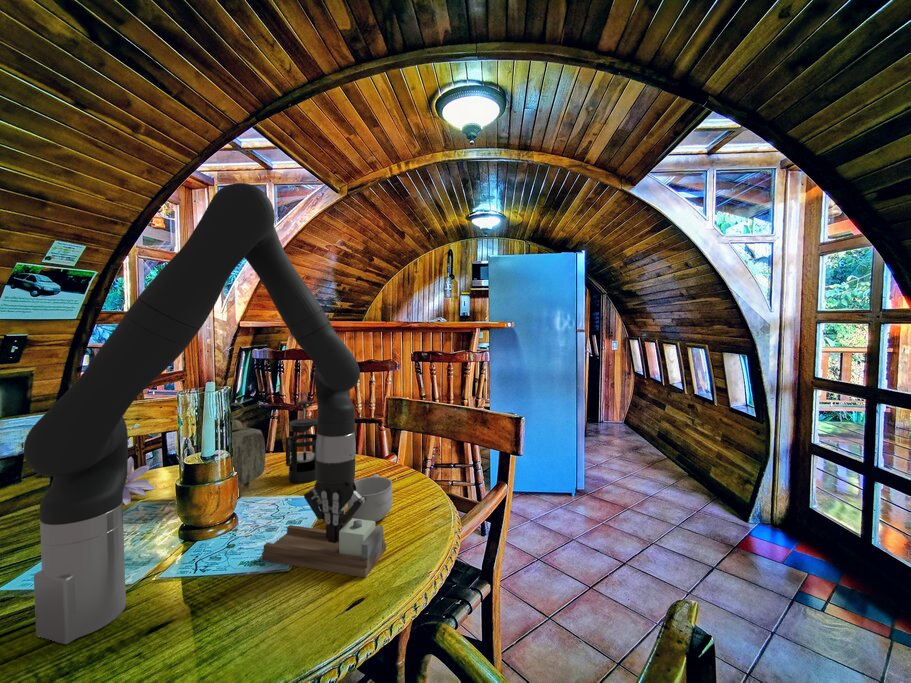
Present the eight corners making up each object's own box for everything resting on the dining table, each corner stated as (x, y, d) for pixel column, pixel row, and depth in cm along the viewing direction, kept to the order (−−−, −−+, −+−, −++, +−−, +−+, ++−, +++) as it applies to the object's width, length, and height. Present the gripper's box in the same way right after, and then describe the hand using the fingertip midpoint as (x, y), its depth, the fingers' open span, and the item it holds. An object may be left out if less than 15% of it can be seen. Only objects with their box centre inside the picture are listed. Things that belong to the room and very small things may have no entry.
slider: (363, 560, 73) (363, 530, 73) (339, 557, 74) (339, 527, 74) (375, 545, 78) (375, 517, 78) (352, 542, 79) (352, 514, 79)
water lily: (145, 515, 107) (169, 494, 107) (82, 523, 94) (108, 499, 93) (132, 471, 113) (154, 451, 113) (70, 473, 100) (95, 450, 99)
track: (365, 577, 71) (365, 548, 71) (262, 560, 76) (261, 532, 76) (385, 550, 80) (385, 523, 80) (291, 536, 85) (291, 511, 85)
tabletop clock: (248, 483, 113) (247, 397, 112) (269, 489, 109) (268, 400, 108) (195, 503, 100) (193, 406, 99) (216, 511, 96) (214, 410, 95)
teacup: (382, 531, 87) (382, 495, 87) (337, 525, 89) (337, 491, 89) (402, 503, 101) (402, 472, 101) (363, 499, 103) (363, 469, 103)
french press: (329, 474, 120) (329, 399, 119) (309, 485, 111) (308, 405, 110) (298, 469, 124) (297, 397, 123) (276, 480, 115) (275, 403, 114)
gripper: (294, 457, 75) (293, 545, 75) (357, 464, 72) (355, 557, 72) (316, 445, 82) (315, 526, 83) (375, 452, 79) (373, 536, 80)
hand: (334, 540), depth 78 cm, fingers closed
